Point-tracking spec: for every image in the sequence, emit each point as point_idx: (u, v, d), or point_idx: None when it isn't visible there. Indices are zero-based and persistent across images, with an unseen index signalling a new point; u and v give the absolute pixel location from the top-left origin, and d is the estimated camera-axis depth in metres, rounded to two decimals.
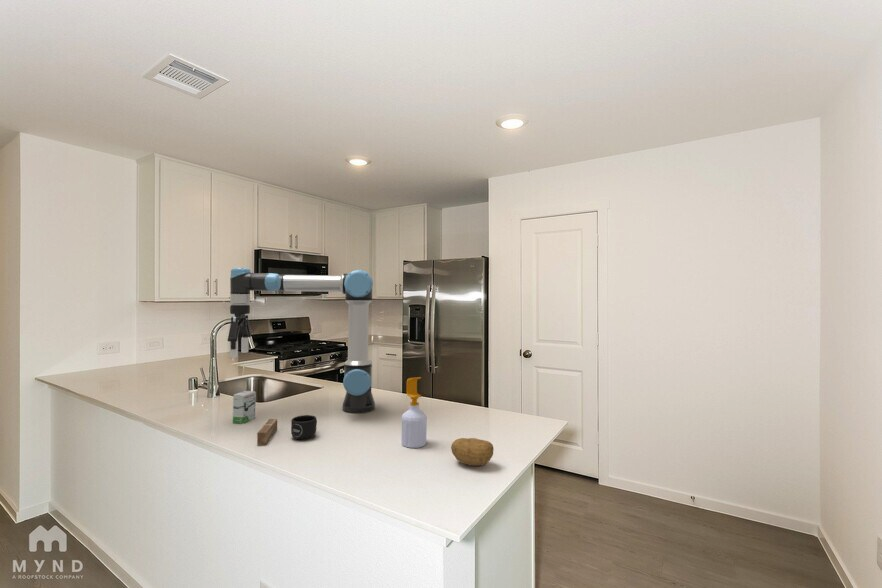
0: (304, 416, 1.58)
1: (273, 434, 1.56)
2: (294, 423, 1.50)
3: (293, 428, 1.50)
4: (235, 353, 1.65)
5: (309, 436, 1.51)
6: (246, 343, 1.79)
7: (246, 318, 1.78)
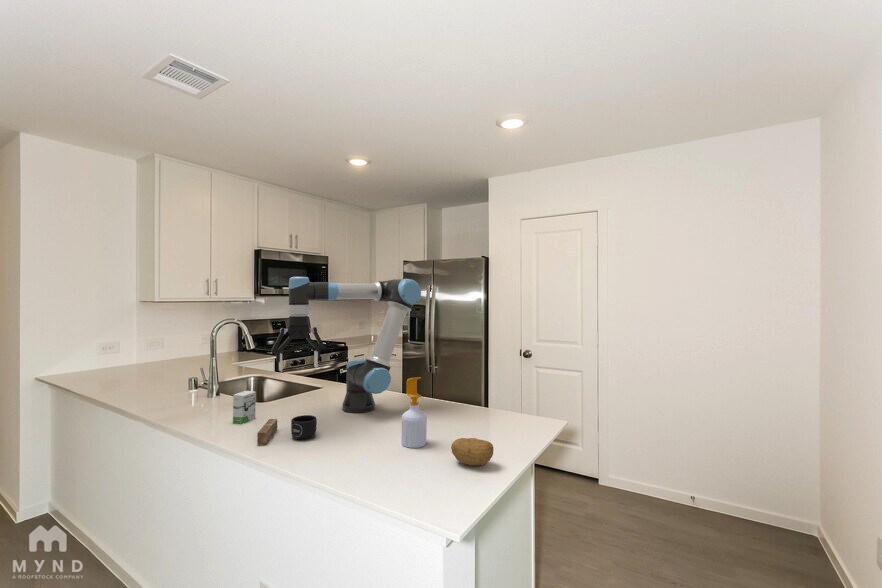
0: (304, 416, 1.58)
1: (273, 434, 1.56)
2: (294, 423, 1.50)
3: (293, 428, 1.50)
4: (279, 366, 1.58)
5: (309, 436, 1.51)
6: (315, 357, 1.65)
7: (313, 330, 1.64)
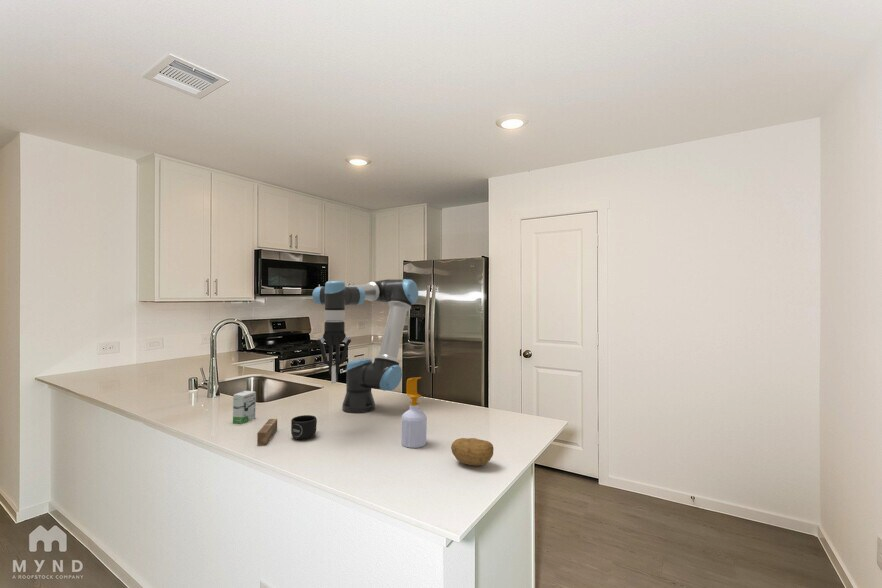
0: (304, 416, 1.58)
1: (273, 434, 1.56)
2: (294, 423, 1.50)
3: (293, 428, 1.50)
4: None
5: (309, 436, 1.51)
6: None
7: (346, 341, 1.57)
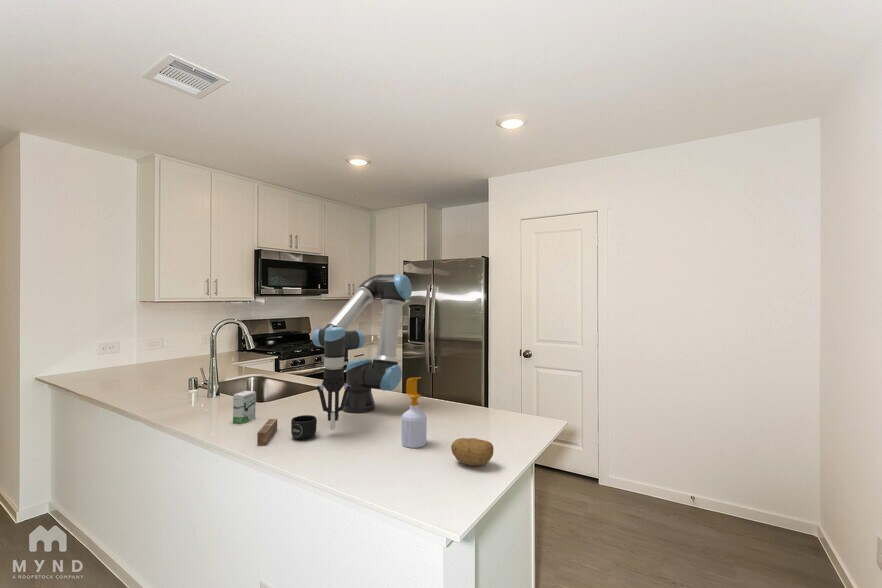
0: (304, 416, 1.58)
1: (273, 434, 1.56)
2: (294, 423, 1.50)
3: (293, 428, 1.50)
4: None
5: (309, 436, 1.51)
6: None
7: (345, 387, 1.57)
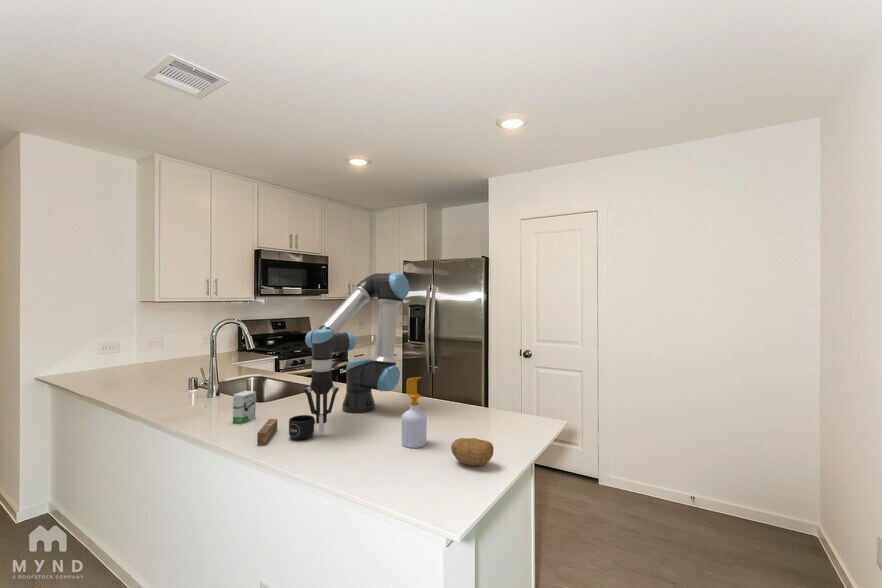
0: (302, 416, 1.58)
1: (273, 434, 1.56)
2: (292, 423, 1.50)
3: (291, 428, 1.50)
4: (319, 428, 1.55)
5: (307, 436, 1.51)
6: None
7: (333, 390, 1.56)
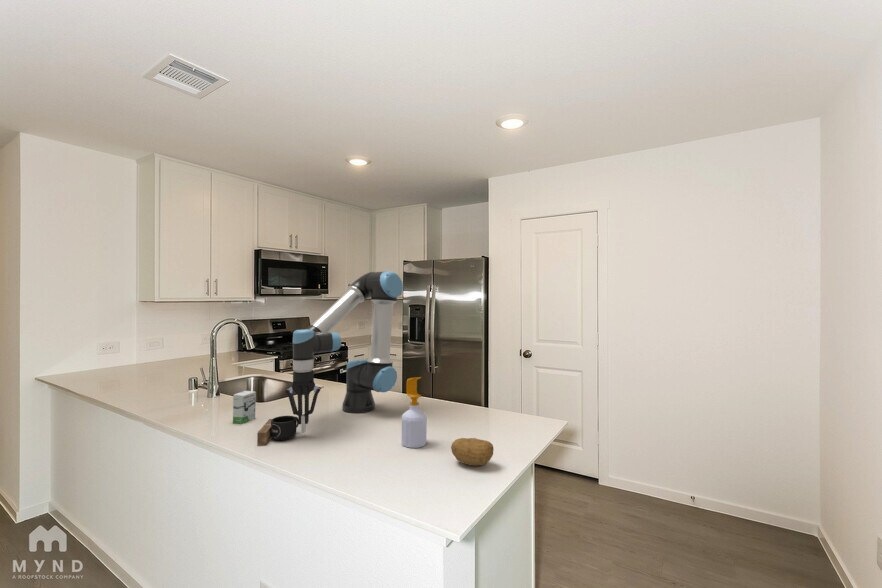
0: (285, 416, 1.57)
1: None
2: (273, 423, 1.49)
3: (272, 428, 1.50)
4: None
5: (287, 437, 1.50)
6: None
7: (315, 390, 1.55)
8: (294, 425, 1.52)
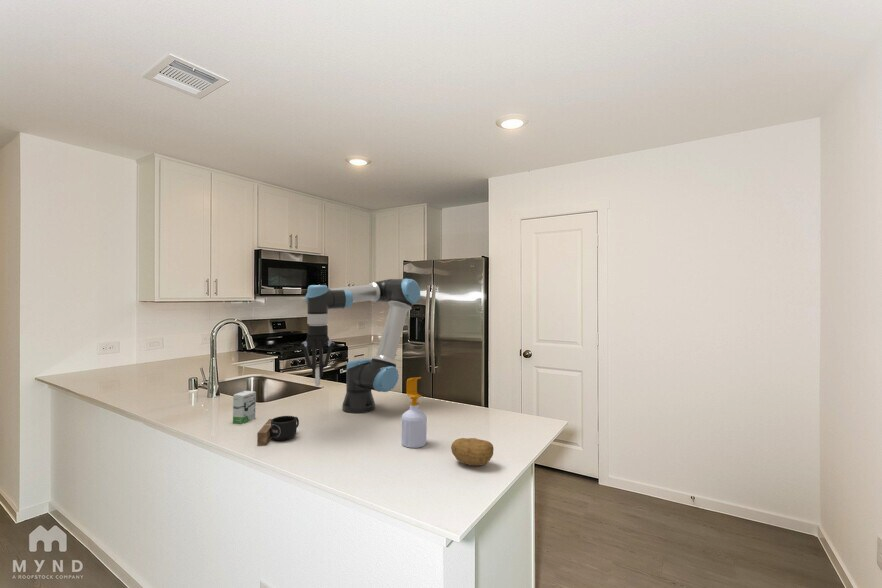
0: (285, 416, 1.57)
1: None
2: (273, 423, 1.49)
3: (272, 428, 1.50)
4: None
5: (288, 437, 1.50)
6: None
7: (329, 344, 1.58)
8: (294, 425, 1.52)
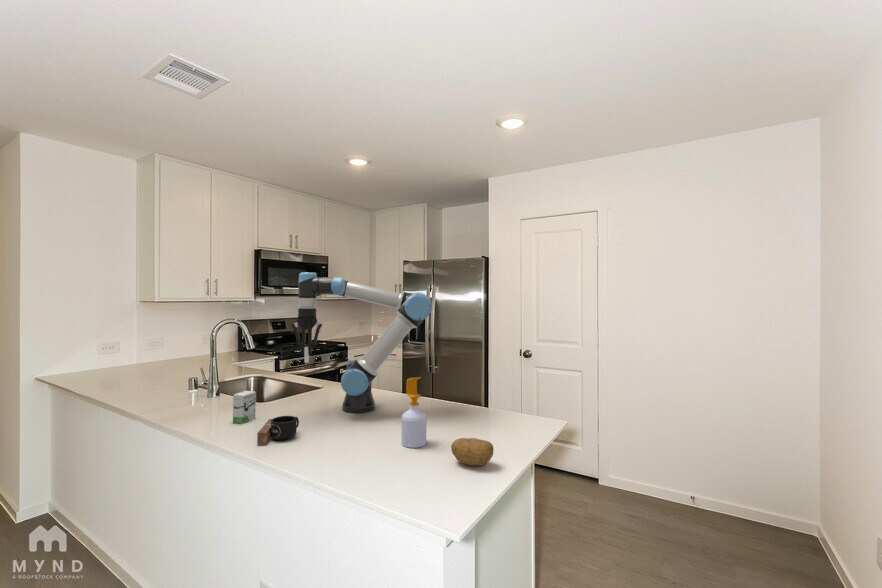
0: (285, 416, 1.57)
1: None
2: (273, 423, 1.49)
3: (272, 428, 1.50)
4: None
5: (287, 437, 1.50)
6: None
7: (317, 325, 1.77)
8: (294, 425, 1.52)
